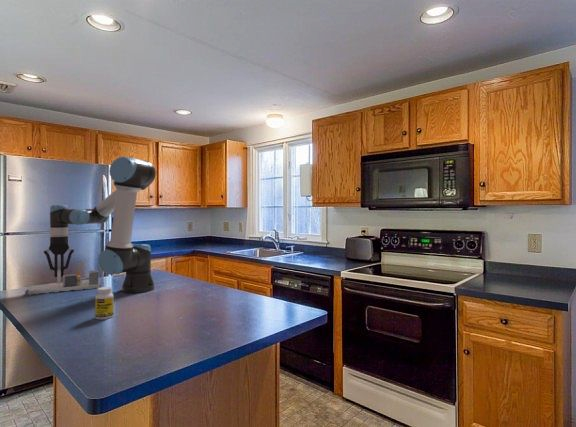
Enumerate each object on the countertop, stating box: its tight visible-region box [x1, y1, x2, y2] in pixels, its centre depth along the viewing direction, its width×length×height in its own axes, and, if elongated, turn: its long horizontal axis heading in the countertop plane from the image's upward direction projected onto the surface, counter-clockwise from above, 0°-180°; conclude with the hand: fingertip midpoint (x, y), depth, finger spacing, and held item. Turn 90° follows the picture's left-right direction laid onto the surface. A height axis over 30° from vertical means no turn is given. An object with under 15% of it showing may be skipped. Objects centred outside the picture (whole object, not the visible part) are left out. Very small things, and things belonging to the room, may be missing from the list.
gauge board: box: [27, 269, 102, 296], centre depth 179 cm, size 30×13×8 cm, turn 122°
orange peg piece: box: [77, 270, 81, 282], centre depth 185 cm, size 2×3×5 cm, turn 32°
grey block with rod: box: [62, 273, 89, 286], centre depth 182 cm, size 14×10×5 cm
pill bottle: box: [94, 286, 115, 320], centre depth 133 cm, size 6×6×11 cm
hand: (59, 283), depth 175 cm, fingers closed
